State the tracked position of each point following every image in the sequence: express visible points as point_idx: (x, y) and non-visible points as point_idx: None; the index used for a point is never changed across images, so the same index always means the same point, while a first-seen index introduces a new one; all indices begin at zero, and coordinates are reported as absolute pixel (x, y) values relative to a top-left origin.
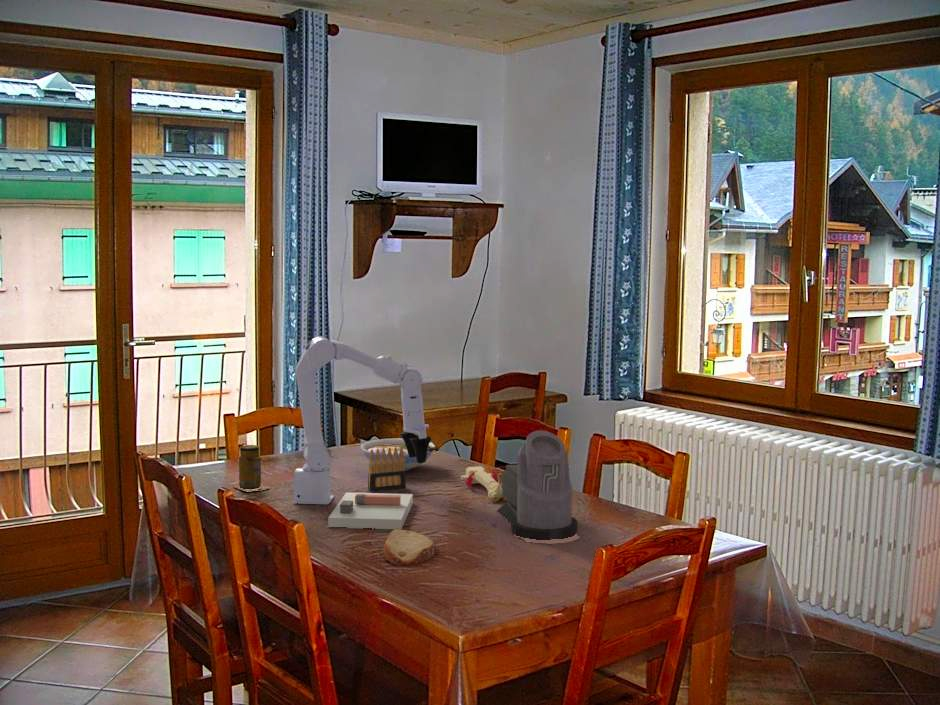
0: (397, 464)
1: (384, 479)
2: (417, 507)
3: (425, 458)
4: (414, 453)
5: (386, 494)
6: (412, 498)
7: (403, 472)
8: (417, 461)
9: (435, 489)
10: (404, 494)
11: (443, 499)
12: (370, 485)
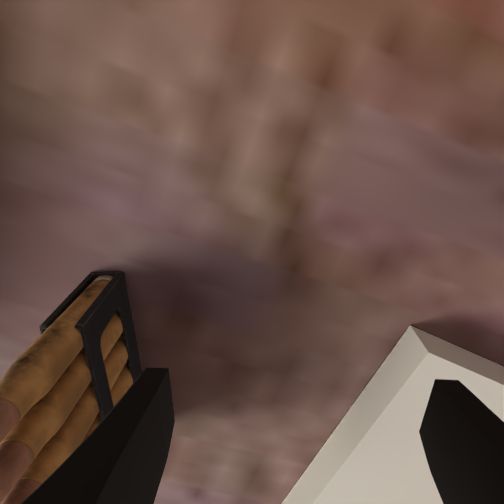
0: (63, 401)
1: None
2: (486, 327)
3: (484, 411)
4: (161, 416)
5: (372, 452)
6: (430, 344)
7: (87, 328)
8: (429, 448)
9: (188, 124)
10: (414, 388)
11: (417, 157)
12: None
